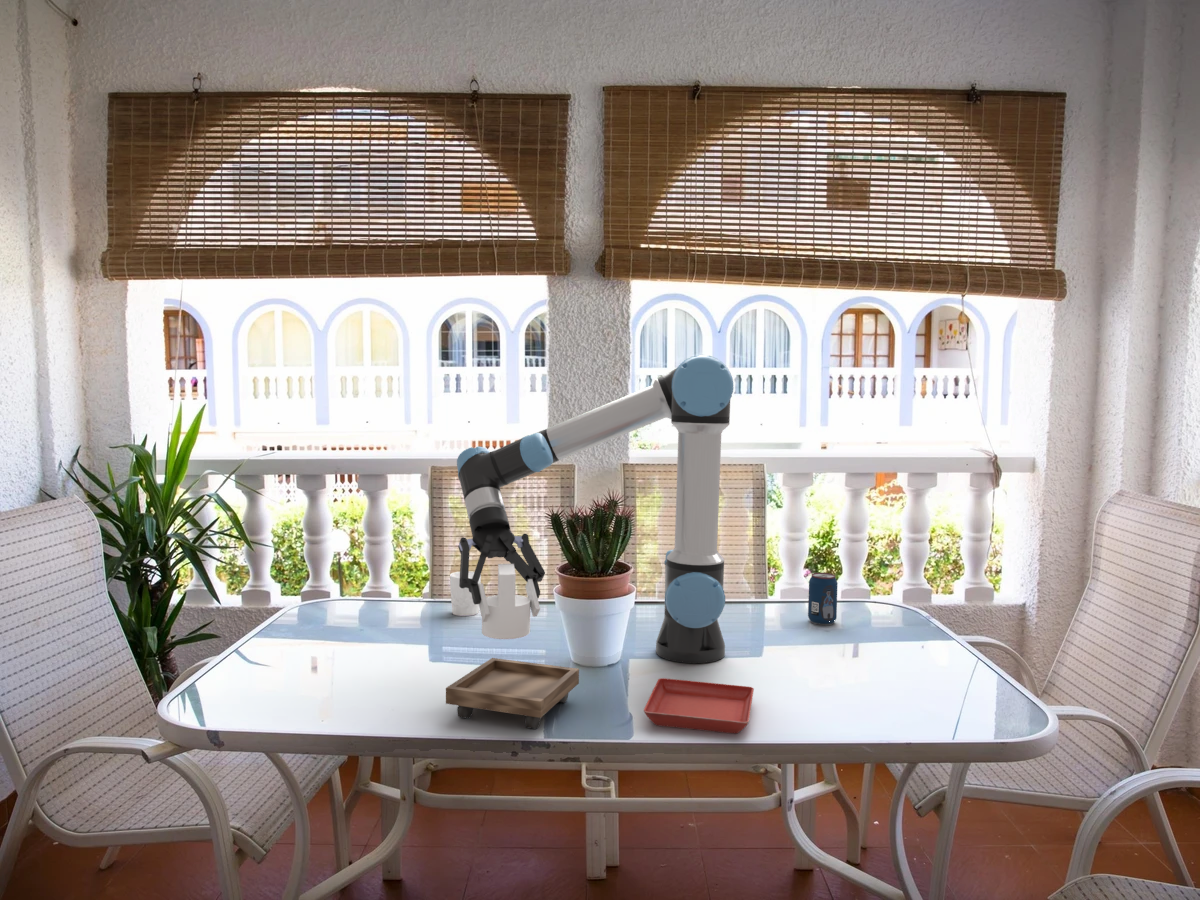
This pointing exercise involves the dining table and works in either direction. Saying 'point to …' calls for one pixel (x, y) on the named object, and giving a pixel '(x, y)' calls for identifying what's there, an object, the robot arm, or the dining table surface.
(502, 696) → the cart
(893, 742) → the dining table surface
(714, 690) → the plant saucer
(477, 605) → the white cup
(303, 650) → the dining table surface
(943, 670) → the dining table surface
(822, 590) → the soda can
